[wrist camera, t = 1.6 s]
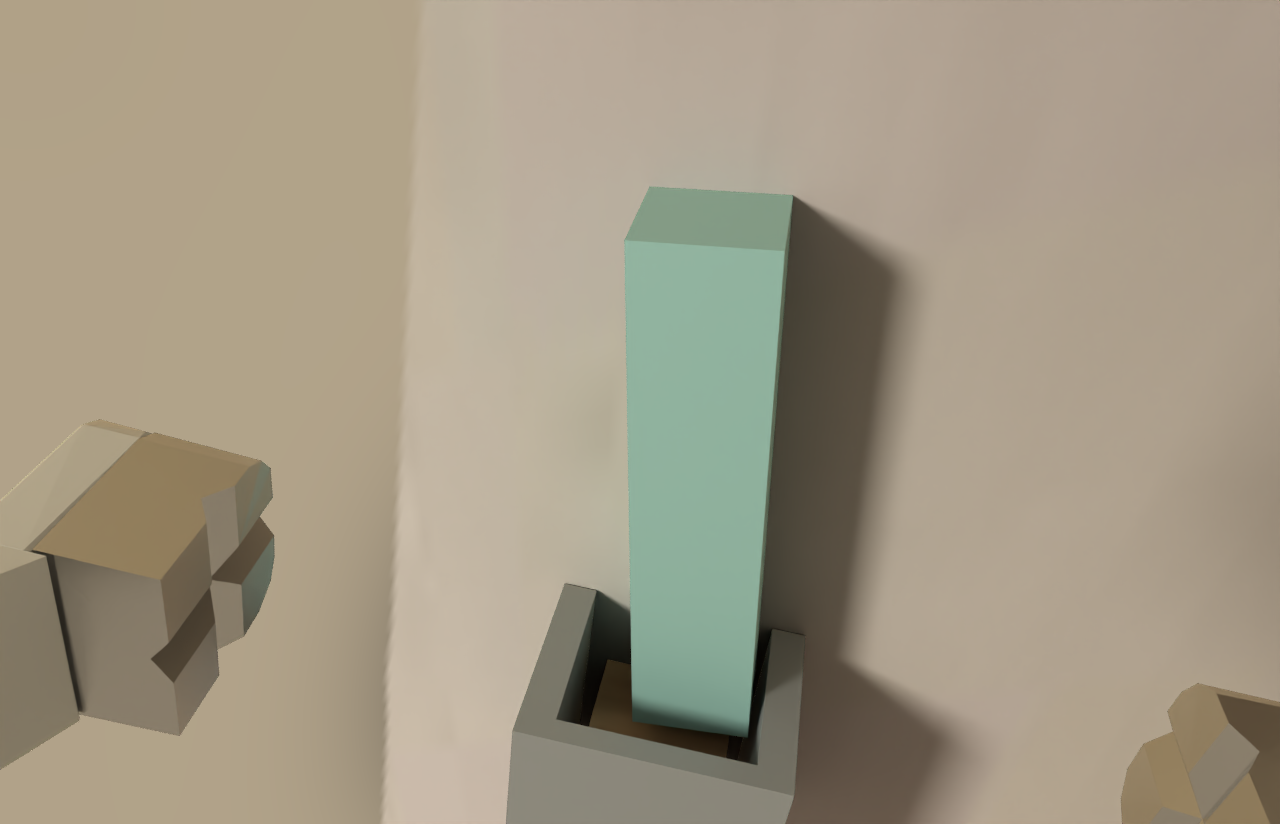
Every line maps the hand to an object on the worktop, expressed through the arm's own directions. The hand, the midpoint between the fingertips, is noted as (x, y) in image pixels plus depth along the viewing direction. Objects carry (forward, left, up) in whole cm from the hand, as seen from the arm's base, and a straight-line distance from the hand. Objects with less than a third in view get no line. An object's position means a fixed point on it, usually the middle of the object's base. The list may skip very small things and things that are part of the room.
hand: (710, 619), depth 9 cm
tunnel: (-10, +23, -21) cm, 32 cm away
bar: (-5, +12, -21) cm, 25 cm away
